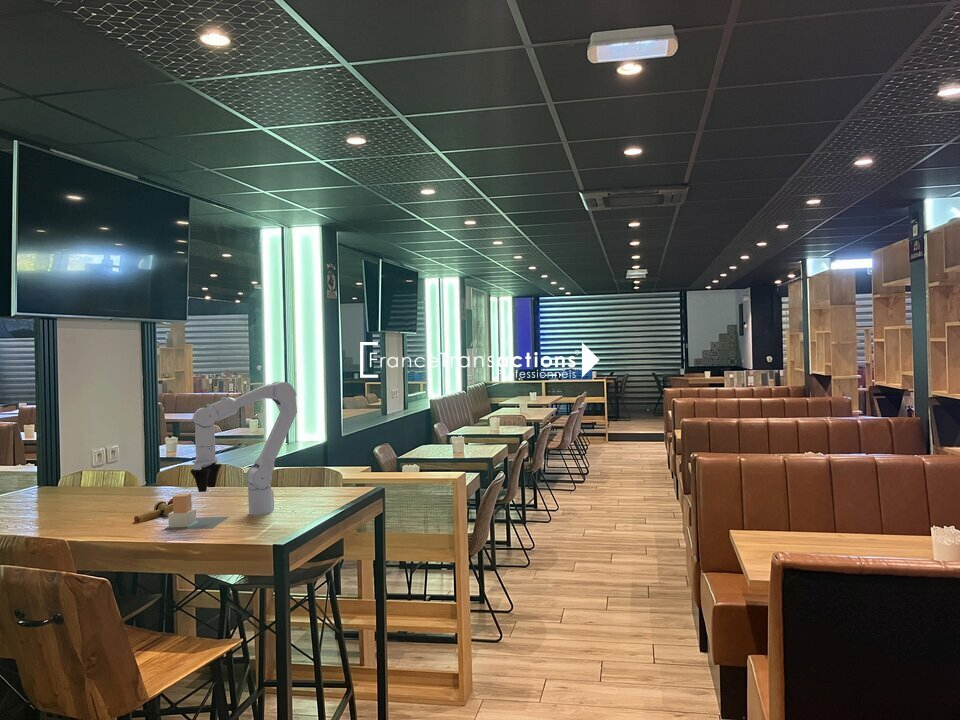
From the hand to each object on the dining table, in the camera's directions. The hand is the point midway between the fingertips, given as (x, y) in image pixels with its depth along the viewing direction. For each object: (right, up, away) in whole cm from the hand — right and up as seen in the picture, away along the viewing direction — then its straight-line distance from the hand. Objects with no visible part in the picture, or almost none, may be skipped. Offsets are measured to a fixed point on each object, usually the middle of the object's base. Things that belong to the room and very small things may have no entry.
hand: (207, 489), depth 227 cm
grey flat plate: (-2, -11, -4) cm, 11 cm away
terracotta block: (-6, -6, -5) cm, 9 cm away
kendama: (-18, -11, +8) cm, 23 cm away
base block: (-6, -10, -5) cm, 12 cm away
